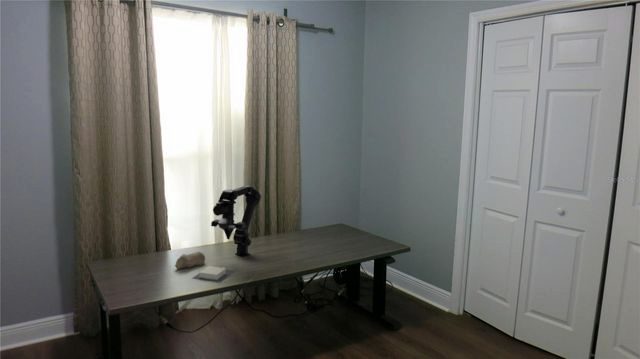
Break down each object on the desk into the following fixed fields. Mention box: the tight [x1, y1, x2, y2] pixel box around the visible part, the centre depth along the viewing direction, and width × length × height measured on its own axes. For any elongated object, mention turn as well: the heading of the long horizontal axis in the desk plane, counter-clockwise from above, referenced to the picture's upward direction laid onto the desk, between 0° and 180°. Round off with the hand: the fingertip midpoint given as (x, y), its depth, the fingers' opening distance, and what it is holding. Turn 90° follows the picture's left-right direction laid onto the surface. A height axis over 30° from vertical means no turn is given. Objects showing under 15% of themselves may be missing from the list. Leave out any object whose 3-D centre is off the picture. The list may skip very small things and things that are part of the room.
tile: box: [198, 265, 227, 280], centre depth 230 cm, size 3×10×10 cm
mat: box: [191, 268, 236, 283], centre depth 233 cm, size 18×16×1 cm
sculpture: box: [174, 251, 206, 271], centre depth 243 cm, size 9×17×10 cm
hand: (228, 239), depth 253 cm, fingers closed
